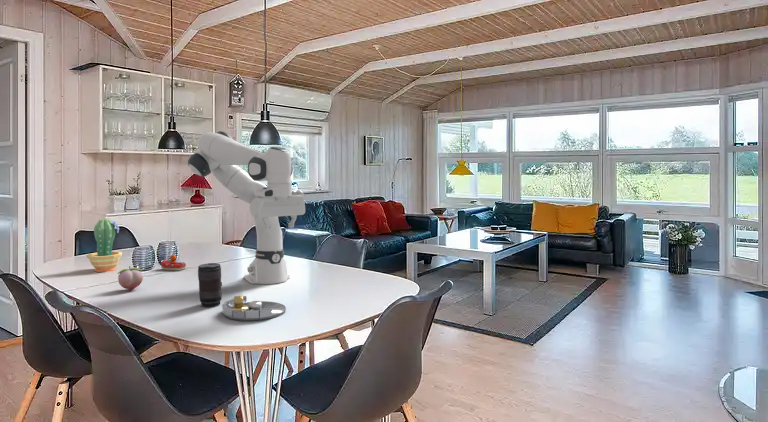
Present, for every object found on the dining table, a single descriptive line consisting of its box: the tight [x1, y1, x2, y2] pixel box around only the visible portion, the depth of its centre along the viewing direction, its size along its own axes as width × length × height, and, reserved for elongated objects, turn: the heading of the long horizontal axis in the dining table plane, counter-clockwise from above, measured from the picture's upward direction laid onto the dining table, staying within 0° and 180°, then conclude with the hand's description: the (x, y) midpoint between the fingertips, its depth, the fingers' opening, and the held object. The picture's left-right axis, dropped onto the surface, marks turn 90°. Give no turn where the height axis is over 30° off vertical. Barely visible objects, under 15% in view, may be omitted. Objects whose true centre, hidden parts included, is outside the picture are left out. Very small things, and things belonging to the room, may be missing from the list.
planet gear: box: [230, 295, 248, 311], centre depth 176 cm, size 6×6×6 cm
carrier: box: [221, 295, 287, 322], centre depth 180 cm, size 22×22×3 cm
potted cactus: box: [86, 218, 123, 273], centre depth 249 cm, size 15×15×25 cm
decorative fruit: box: [117, 266, 144, 291], centre depth 210 cm, size 9×8×10 cm
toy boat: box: [160, 254, 187, 272], centre depth 252 cm, size 8×12×8 cm, turn 82°
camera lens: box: [197, 262, 223, 308], centre depth 189 cm, size 8×8×15 cm
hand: (279, 228), depth 190 cm, fingers open, 8 cm apart
